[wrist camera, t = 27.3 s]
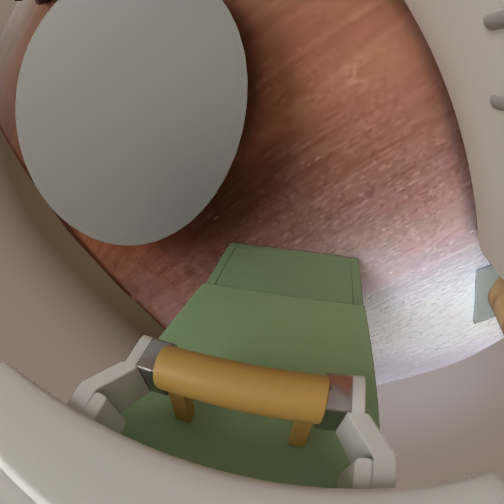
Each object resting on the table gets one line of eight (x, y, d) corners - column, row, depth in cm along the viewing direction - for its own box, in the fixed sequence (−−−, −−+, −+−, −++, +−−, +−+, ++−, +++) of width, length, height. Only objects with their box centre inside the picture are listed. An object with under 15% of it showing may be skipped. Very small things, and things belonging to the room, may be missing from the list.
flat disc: (333, 112, 20) (335, 116, 16) (135, 264, 34) (115, 285, 30) (141, -62, 12) (115, -74, 8) (21, 115, 26) (-3, 124, 22)
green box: (333, 349, 33) (330, 395, 28) (235, 334, 36) (219, 376, 30) (358, 258, 26) (363, 305, 20) (230, 242, 29) (205, 283, 23)
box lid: (374, 499, 7) (431, 447, 5) (96, 432, 10) (57, 363, 8) (362, 314, 20) (376, 256, 18) (203, 291, 23) (201, 234, 21)
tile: (521, 302, 23) (523, 305, 22) (473, 320, 26) (474, 324, 26) (528, 249, 20) (531, 252, 19) (475, 269, 23) (477, 272, 22)
